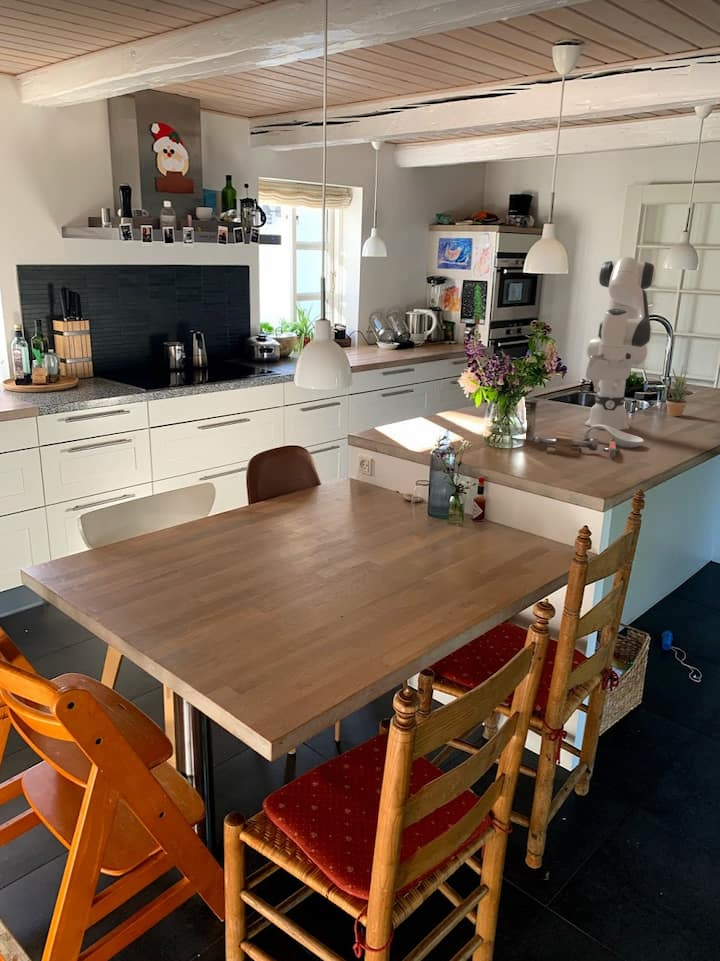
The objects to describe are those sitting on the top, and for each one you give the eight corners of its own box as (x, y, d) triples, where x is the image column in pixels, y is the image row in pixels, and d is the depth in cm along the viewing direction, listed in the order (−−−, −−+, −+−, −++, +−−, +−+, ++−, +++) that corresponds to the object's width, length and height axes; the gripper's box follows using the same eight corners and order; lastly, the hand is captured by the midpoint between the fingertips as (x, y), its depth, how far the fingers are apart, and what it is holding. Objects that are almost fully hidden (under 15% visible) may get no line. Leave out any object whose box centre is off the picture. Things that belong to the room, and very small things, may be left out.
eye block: (548, 444, 303) (550, 429, 301) (579, 447, 300) (581, 432, 298) (546, 453, 290) (548, 437, 288) (578, 456, 287) (580, 440, 285)
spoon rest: (645, 446, 306) (648, 428, 304) (638, 451, 297) (641, 434, 295) (587, 437, 318) (589, 420, 316) (579, 442, 309) (581, 425, 307)
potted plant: (660, 414, 364) (667, 363, 357) (669, 412, 370) (677, 362, 363) (680, 418, 357) (688, 366, 350) (689, 416, 363) (697, 364, 356)
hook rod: (534, 443, 299) (535, 433, 298) (597, 448, 292) (598, 438, 291) (533, 444, 296) (534, 434, 295) (597, 450, 290) (598, 440, 288)
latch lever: (608, 448, 295) (609, 441, 295) (614, 448, 295) (615, 441, 294) (609, 456, 283) (610, 449, 282) (615, 457, 283) (616, 450, 282)
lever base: (603, 447, 300) (604, 436, 299) (618, 449, 299) (620, 438, 298) (603, 451, 295) (604, 440, 294) (619, 452, 293) (620, 441, 292)
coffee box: (509, 438, 311) (513, 400, 306) (512, 435, 316) (515, 397, 312) (532, 441, 308) (536, 402, 303) (534, 437, 314) (538, 399, 309)
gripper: (597, 355, 272) (592, 393, 276) (635, 355, 282) (630, 391, 286) (584, 353, 277) (579, 390, 281) (622, 353, 288) (617, 389, 291)
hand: (605, 391), depth 284 cm, fingers open, 8 cm apart
